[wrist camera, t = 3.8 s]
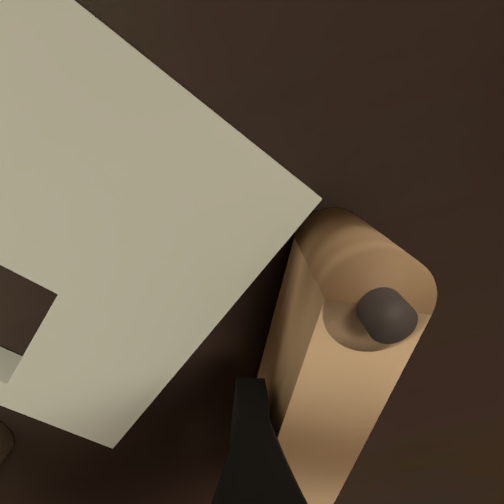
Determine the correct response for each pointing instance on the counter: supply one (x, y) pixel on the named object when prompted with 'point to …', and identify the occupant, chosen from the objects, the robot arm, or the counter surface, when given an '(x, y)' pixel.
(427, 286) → the hinged leg
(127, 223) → the stool seat
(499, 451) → the counter surface
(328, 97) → the counter surface
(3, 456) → the loose leg
